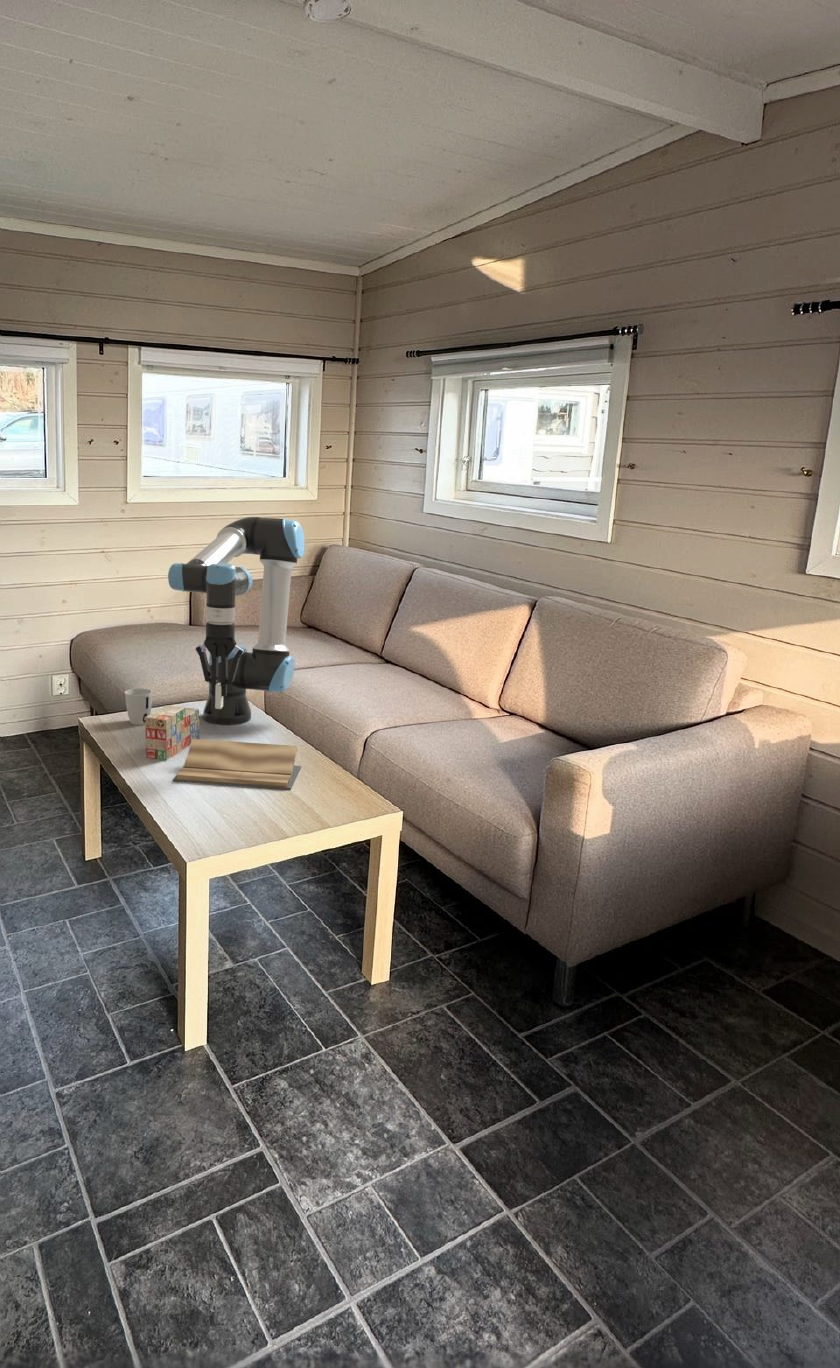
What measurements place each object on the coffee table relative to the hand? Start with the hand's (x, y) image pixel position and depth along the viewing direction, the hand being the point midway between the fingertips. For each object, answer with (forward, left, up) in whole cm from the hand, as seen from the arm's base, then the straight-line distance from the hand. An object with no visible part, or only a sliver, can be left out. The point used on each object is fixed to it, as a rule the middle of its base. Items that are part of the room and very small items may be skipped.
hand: (219, 707), depth 248 cm
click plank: (+4, +7, -13) cm, 15 cm away
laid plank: (+12, +7, -16) cm, 21 cm away
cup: (-31, -33, -17) cm, 48 cm away
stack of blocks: (-11, -16, -17) cm, 26 cm away
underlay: (+7, +7, -16) cm, 19 cm away
